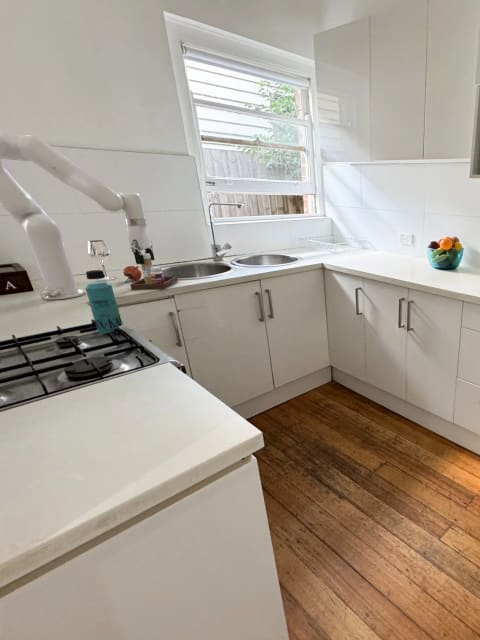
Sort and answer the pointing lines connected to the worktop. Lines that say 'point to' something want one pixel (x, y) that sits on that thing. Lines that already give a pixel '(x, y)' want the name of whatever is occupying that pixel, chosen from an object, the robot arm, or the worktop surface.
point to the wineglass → (99, 254)
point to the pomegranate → (132, 273)
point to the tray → (142, 286)
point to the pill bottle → (157, 275)
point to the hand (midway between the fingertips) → (145, 262)
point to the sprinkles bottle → (147, 268)
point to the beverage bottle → (102, 303)
